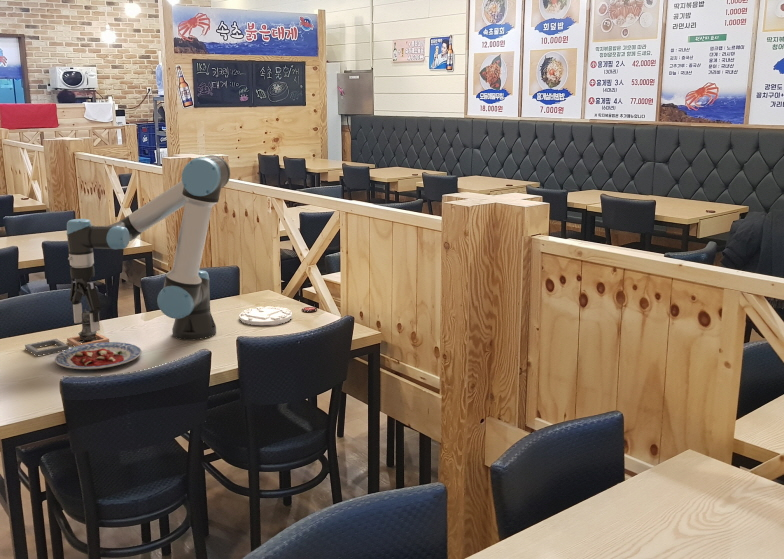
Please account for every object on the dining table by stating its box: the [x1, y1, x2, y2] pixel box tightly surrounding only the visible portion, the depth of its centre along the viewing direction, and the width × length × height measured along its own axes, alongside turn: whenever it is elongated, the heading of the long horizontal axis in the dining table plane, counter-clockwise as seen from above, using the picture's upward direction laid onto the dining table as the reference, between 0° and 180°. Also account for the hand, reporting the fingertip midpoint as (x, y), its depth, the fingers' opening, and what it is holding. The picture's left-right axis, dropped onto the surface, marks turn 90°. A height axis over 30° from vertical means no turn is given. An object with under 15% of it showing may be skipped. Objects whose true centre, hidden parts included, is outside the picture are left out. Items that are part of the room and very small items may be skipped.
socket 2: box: [66, 332, 110, 347], centre depth 260 cm, size 10×10×2 cm
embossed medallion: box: [238, 305, 293, 326], centre depth 291 cm, size 20×20×3 cm
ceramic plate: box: [54, 341, 142, 370], centre depth 243 cm, size 26×26×3 cm
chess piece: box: [77, 308, 98, 343], centre depth 259 cm, size 6×6×12 cm
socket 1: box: [24, 338, 70, 357], centre depth 253 cm, size 10×10×2 cm
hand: (87, 326), depth 259 cm, fingers open, 13 cm apart
